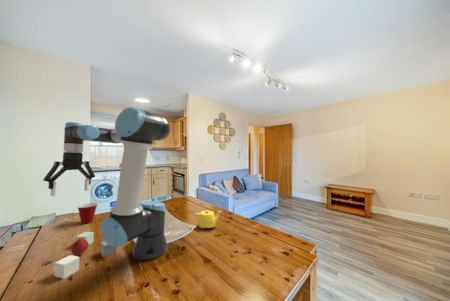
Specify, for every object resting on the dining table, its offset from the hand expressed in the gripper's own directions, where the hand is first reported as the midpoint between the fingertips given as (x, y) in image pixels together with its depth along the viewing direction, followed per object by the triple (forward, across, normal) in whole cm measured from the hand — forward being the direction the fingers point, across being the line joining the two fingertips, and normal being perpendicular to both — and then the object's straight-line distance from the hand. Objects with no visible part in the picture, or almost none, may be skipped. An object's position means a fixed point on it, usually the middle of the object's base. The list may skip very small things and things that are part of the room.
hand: (70, 193), depth 85 cm
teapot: (+26, -52, +52) cm, 78 cm away
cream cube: (+26, +11, +27) cm, 39 cm away
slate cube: (+26, -4, +26) cm, 37 cm away
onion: (+26, +3, +18) cm, 31 cm away
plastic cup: (+25, -18, -22) cm, 38 cm away
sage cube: (+26, -3, +8) cm, 27 cm away
